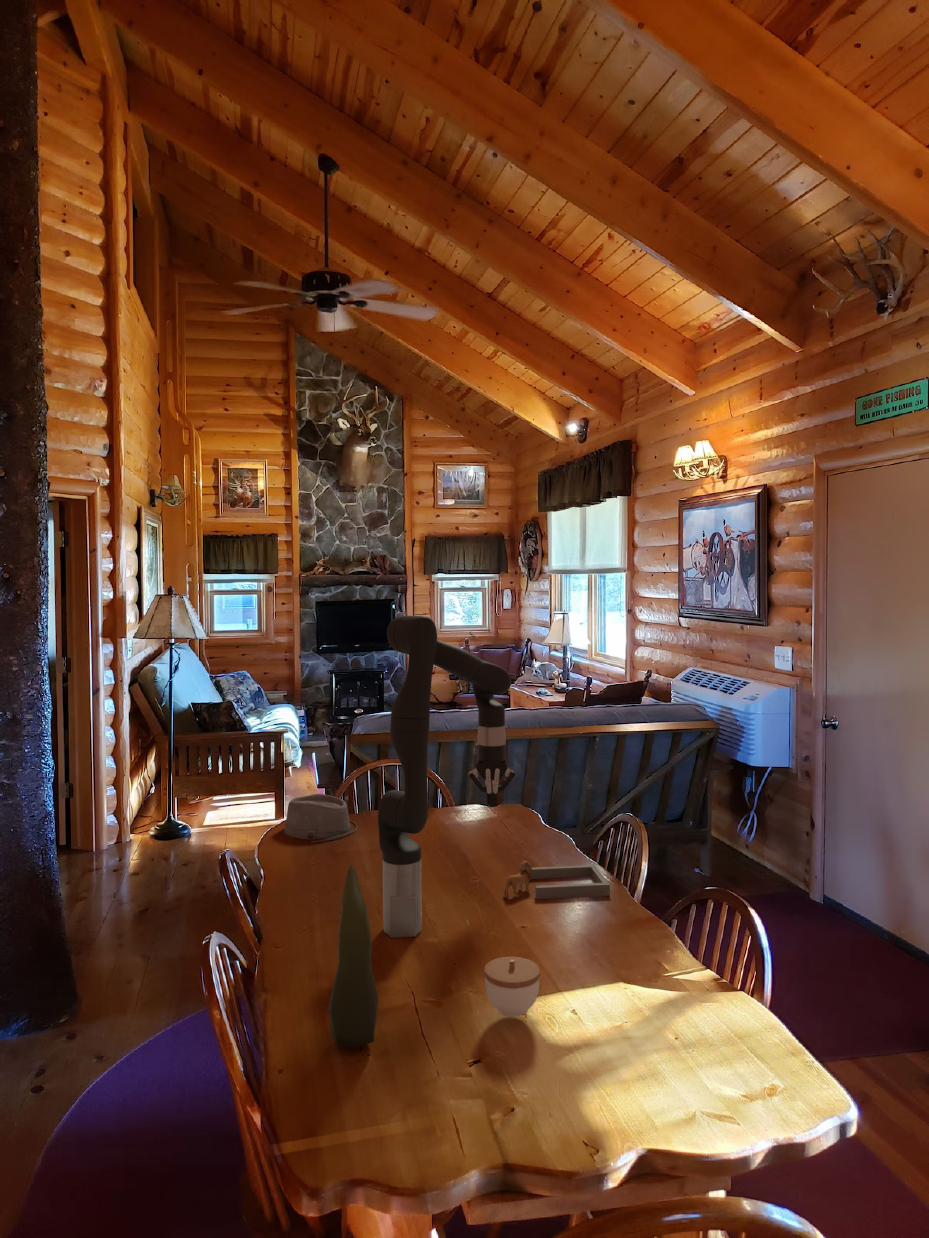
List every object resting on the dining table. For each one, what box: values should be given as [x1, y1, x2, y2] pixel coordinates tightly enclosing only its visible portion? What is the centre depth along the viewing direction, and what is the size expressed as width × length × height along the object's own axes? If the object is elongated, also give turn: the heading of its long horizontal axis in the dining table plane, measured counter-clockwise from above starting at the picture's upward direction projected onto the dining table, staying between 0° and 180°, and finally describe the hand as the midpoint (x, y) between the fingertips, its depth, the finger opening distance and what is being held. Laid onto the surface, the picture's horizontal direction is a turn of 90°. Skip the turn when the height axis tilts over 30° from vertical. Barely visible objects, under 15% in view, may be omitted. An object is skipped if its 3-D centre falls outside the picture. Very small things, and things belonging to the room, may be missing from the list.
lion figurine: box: [503, 860, 533, 900], centre depth 213 cm, size 12×4×7 cm, turn 148°
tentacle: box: [327, 864, 379, 1048], centre depth 145 cm, size 9×12×30 cm
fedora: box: [283, 793, 358, 843], centre depth 264 cm, size 24×27×12 cm
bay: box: [530, 864, 611, 900], centre depth 217 cm, size 15×20×3 cm
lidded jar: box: [483, 956, 541, 1018], centre depth 155 cm, size 11×11×9 cm
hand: (491, 806), depth 215 cm, fingers closed
